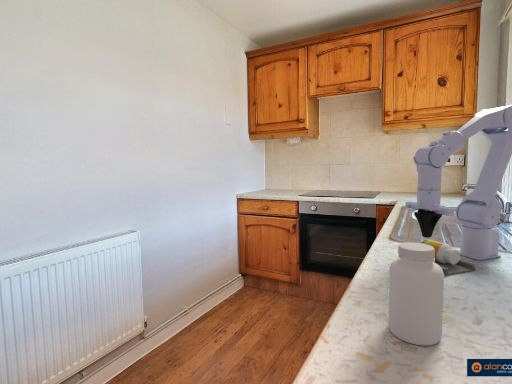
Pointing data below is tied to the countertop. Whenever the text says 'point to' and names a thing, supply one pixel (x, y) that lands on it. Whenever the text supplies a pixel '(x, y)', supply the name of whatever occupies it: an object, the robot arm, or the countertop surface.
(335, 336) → the countertop surface
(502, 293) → the countertop surface
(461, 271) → the stand
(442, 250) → the supplement bottle
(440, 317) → the pill bottle
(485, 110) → the robot arm
